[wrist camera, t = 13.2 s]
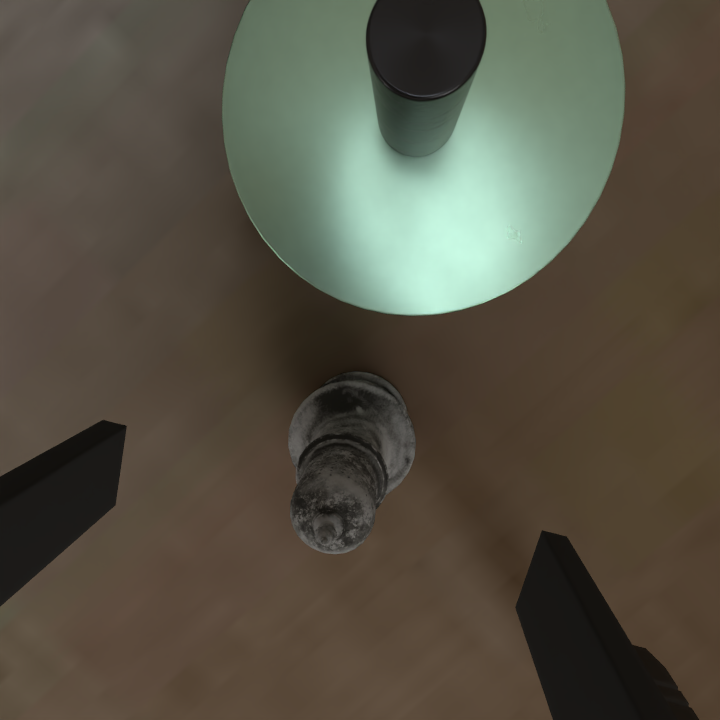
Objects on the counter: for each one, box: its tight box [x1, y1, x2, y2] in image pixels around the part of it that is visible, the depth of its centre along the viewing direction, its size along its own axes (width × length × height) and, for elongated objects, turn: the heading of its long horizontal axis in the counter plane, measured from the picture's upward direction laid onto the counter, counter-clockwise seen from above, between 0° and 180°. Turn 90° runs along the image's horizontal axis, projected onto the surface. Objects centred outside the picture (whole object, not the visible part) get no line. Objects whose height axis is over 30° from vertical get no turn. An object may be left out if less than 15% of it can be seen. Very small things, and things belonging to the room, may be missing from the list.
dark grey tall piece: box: [288, 371, 416, 554], centre depth 21 cm, size 6×6×12 cm
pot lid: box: [222, 0, 625, 316], centre depth 13 cm, size 12×12×7 cm
